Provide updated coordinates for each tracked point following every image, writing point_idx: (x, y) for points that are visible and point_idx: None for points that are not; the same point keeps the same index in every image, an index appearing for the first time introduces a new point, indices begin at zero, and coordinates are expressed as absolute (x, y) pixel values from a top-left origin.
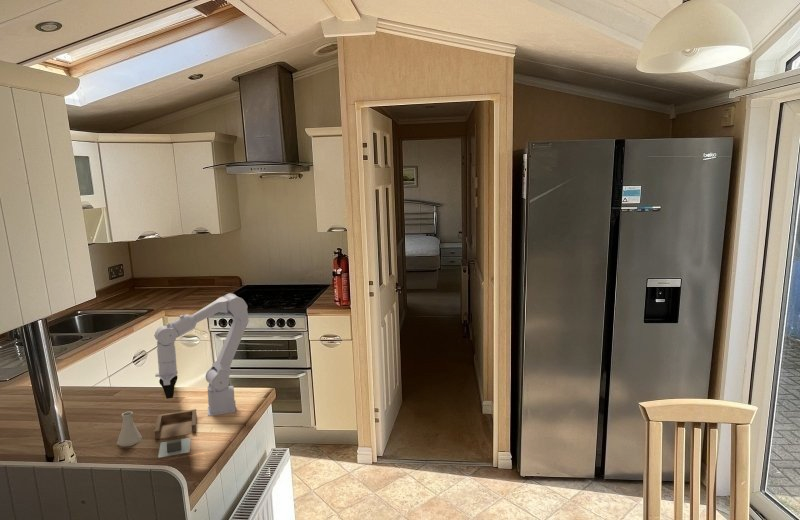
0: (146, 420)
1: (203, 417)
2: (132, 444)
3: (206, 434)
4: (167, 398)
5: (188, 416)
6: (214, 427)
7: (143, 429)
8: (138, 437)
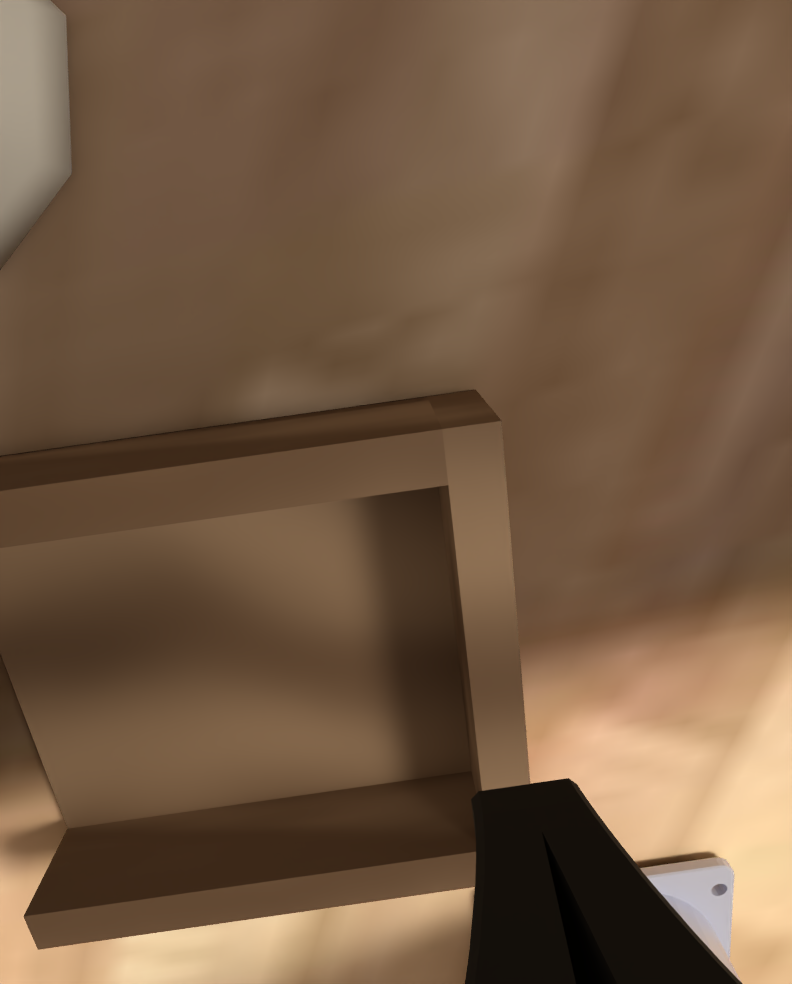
0: (651, 167)
1: None
2: None
3: None
4: (475, 810)
5: (473, 754)
6: (209, 968)
7: (327, 202)
8: None
